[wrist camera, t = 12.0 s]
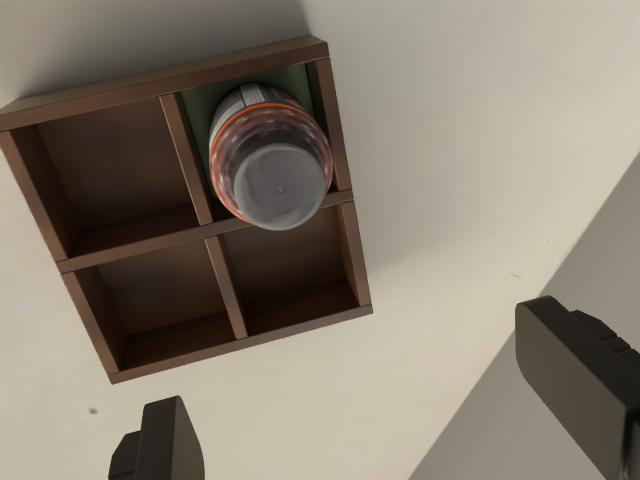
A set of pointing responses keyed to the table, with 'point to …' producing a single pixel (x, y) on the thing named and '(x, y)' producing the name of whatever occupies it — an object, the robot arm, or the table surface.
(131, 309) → the box
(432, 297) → the table surface
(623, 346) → the robot arm
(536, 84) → the table surface
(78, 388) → the table surface
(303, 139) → the supplement bottle
